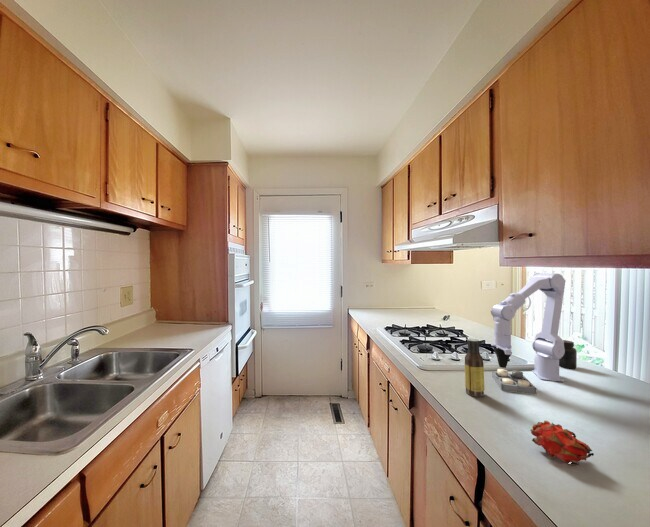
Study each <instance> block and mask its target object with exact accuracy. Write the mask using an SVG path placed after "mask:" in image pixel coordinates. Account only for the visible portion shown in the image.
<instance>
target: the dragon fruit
mask: <svg viewBox="0 0 650 527" xmlns="http://www.w3.org/2000/svg"><path fill="white" fill-rule="evenodd" d="M530 434H531V435H532V436H534V437H533V438H532V440H531V441H532V442H533V443H534V444H535V445H536V446H538V447H539V446H541V447H542V448H543V449H544V451H545V453H546V454H548V455H549V457H550V459H551V460H554V459H555V458H558V459H559V460H561V461H563V462H564V463H567V464H568V463H569V462H570V461H571V462H572V463H571V465H570V466H580V463H578V462H580V461H587V459H588V458H590V457H594V455H595V454H594V453H593V449H591V447H590V446H589V445H588V444H587V443H586V442H584V441H582V440H580V439H578V438H577V435H576V434H575V433H574V431H570V430H569V429H568V428H564V429H563V426H562V425H561V424H559V423H557V424H554V422H549V421H548V420H543V421H541V422H540V421H538V422H537V423H535V424H533V425H532V428H531V429H530Z"/></svg>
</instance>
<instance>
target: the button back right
mask: <svg viewBox="0 0 650 527" xmlns="http://www.w3.org/2000/svg"><path fill="white" fill-rule="evenodd" d="M496 372H497V375H499V376H501V377H508V373H509V370H507V369H506V368H505V369H504V368H497V370H496Z"/></svg>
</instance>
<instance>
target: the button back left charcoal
mask: <svg viewBox="0 0 650 527" xmlns="http://www.w3.org/2000/svg"><path fill="white" fill-rule="evenodd" d="M511 374H512V377H514V378H518V379H522V378H523V375H524V372H523V371H520V370H516V369H513V370H511Z"/></svg>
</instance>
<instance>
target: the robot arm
mask: <svg viewBox="0 0 650 527" xmlns="http://www.w3.org/2000/svg"><path fill="white" fill-rule="evenodd" d="M565 288H566V279H565V278H564V277H563V275H562V274H560V273H543V272H542V273H540V272H535V273H534V274H533V275H532V276H531V277H529V281H528V282H527V283H526V284H525V285H524V286H523V287H522V288H521V289H520V290H519V291H518V292H512V293H509V294H508V295H509V296H507V297H506V298H505V299H504V300H501V302H500V303H497V304H495V305H493V306H492V308H491V310H490V315H491V316H492V318H493V321H494V326H493V330H494V331H493V332H494V334H493V335H494V337H493V338H494V340H493V343H490V345H491V347H493V351H494V353H495V355H496V359H497V362H498V367H499V368H500V369H504V368H505V369H506V368H507V366H508V362H509V360H510V359H509V358H510V357H511V356H512V355H513V352H512V319H514V317H515V315H516V313H517V311H518V310H519V309H520V308H521V307H523V306H524V304H526V299H527V298H528V297H530V296H532V295H533V294H534V293H535V292H537V291H538V290H539V291H541V292H542V293H543V294H545V297H546V299H545V304H544V305H545V306H544V313H543V318H542V327H541V332H538V333H536V334H535V336H534V340H533V341H532V345H531V346H532V350H533V351H535V356H534V358H533V360H534V369H532V370H531V372H532V373H533V374H534V375H535V376H536V377H538V379H539V380H542V381H544V380H545V381H552V382H562V383H563V382H565V379H563V378H561V377H560V366H559V359H561V357H563V355H564V353H565V349H564V341H563V340H564V339H562V338H561V337H560V336H559V329H560V321H561V315H562V310H563V309H562V308H563V302H564V301H563V300H564V294H565Z"/></svg>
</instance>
